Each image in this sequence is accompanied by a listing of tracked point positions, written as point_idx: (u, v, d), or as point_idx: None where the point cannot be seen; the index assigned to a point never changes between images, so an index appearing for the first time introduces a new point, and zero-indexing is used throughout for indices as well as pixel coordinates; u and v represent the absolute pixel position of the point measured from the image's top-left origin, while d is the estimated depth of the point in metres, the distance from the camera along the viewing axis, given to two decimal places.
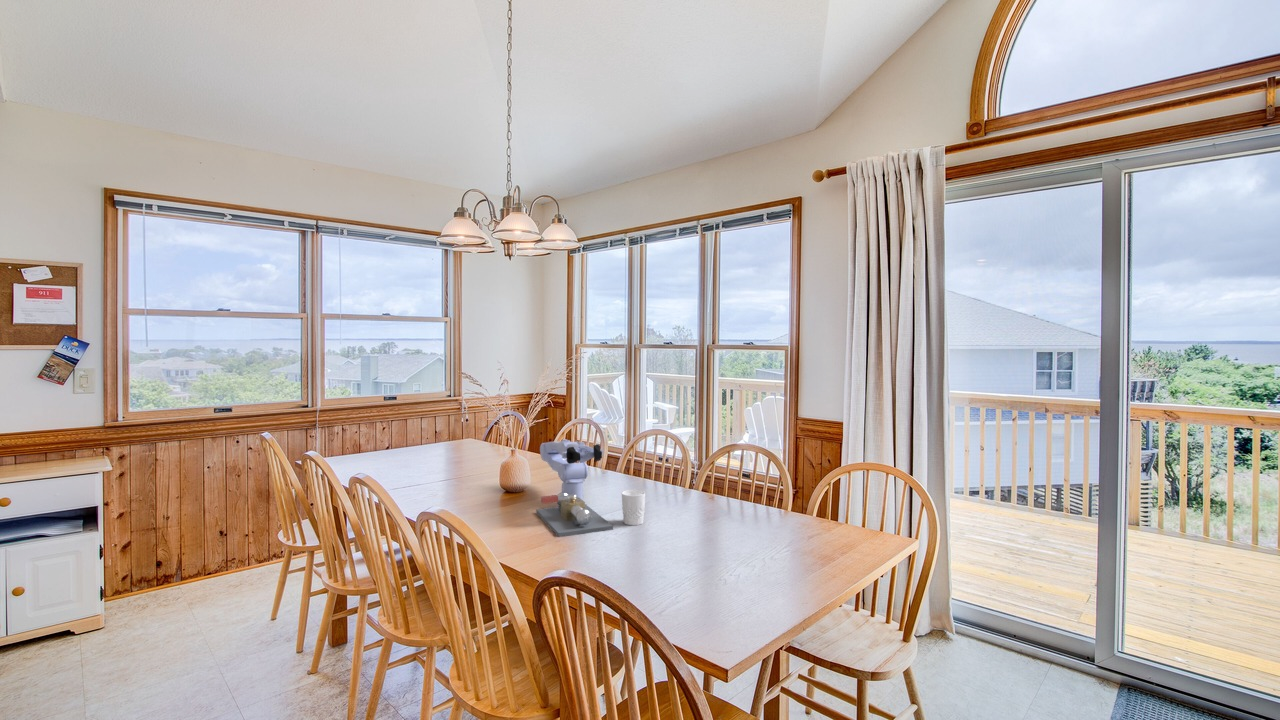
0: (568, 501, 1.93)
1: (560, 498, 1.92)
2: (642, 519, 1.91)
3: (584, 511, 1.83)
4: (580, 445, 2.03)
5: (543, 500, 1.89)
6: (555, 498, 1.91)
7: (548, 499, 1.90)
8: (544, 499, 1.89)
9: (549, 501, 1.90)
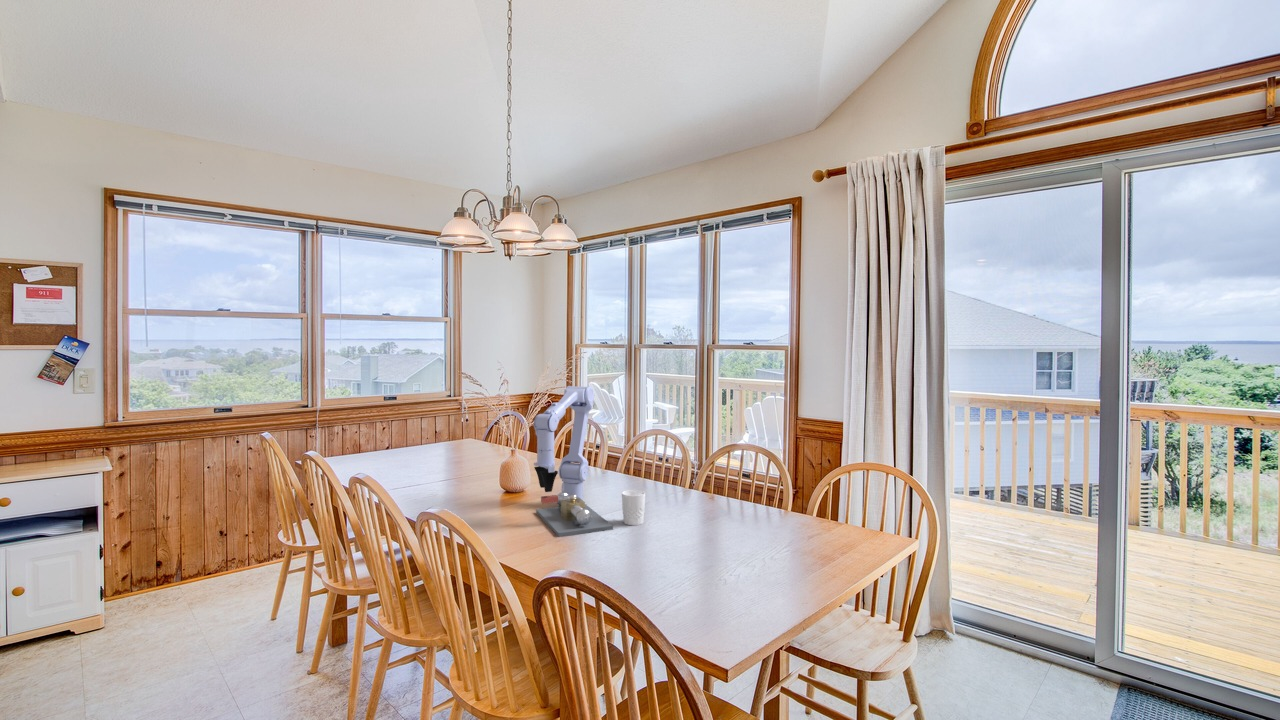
0: (568, 501, 1.93)
1: (560, 498, 1.92)
2: (642, 519, 1.91)
3: (584, 511, 1.83)
4: None
5: (543, 500, 1.89)
6: (555, 498, 1.91)
7: (548, 499, 1.90)
8: (544, 499, 1.89)
9: (549, 501, 1.90)
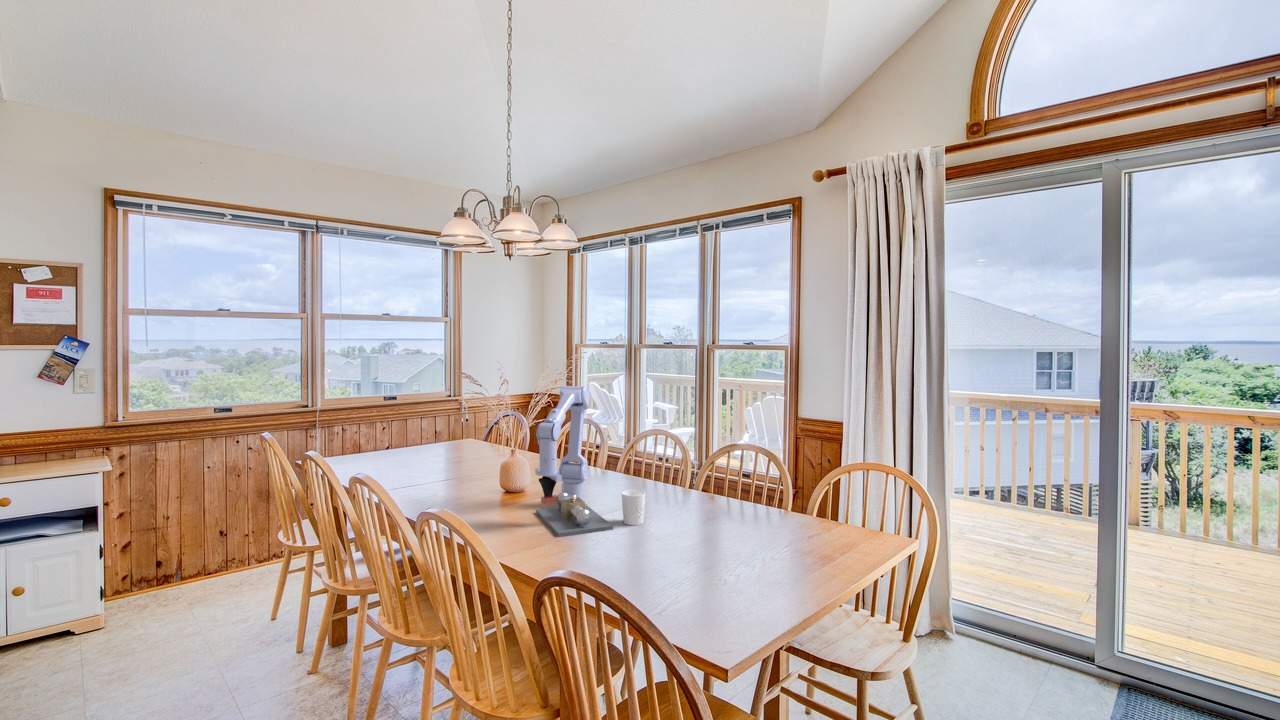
0: (568, 501, 1.93)
1: (560, 498, 1.92)
2: (642, 519, 1.91)
3: (584, 511, 1.83)
4: None
5: (543, 500, 1.89)
6: (555, 498, 1.91)
7: (548, 499, 1.90)
8: (544, 499, 1.89)
9: (549, 501, 1.90)
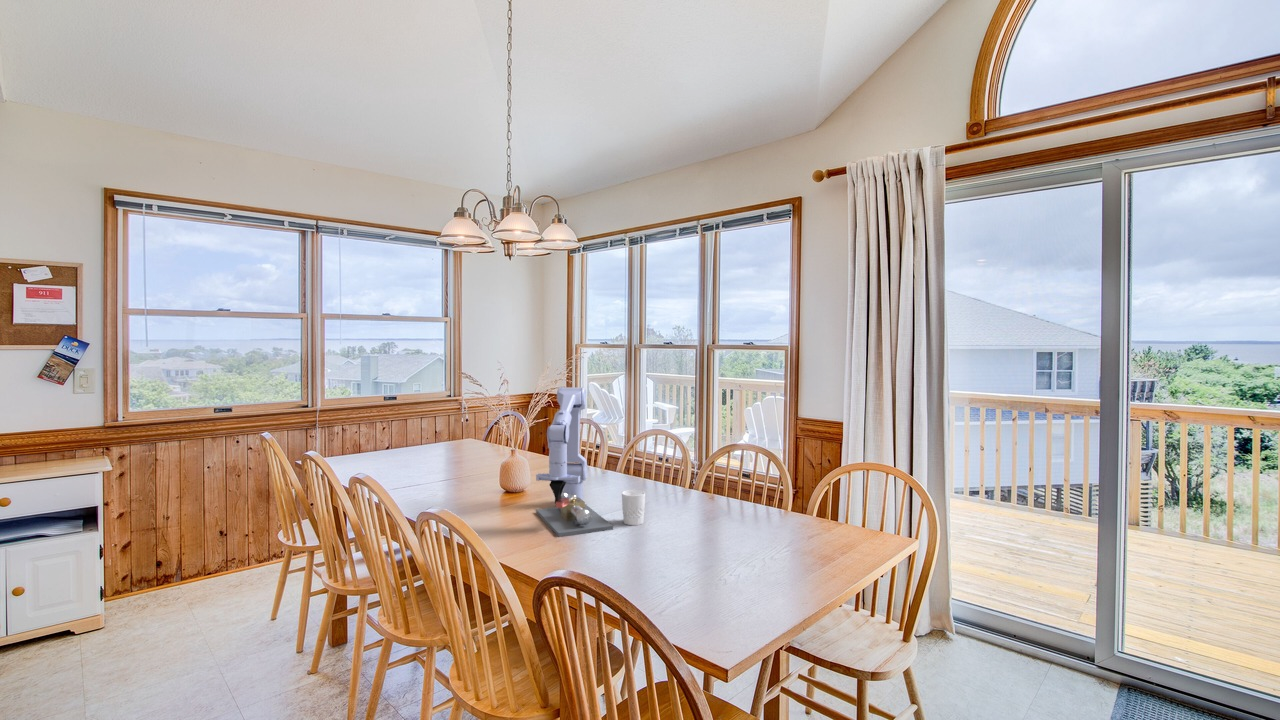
0: None
1: (569, 500, 1.90)
2: (642, 519, 1.91)
3: (584, 511, 1.83)
4: (552, 479, 1.84)
5: (562, 504, 1.84)
6: (567, 500, 1.88)
7: (564, 502, 1.86)
8: (562, 503, 1.84)
9: (565, 504, 1.86)
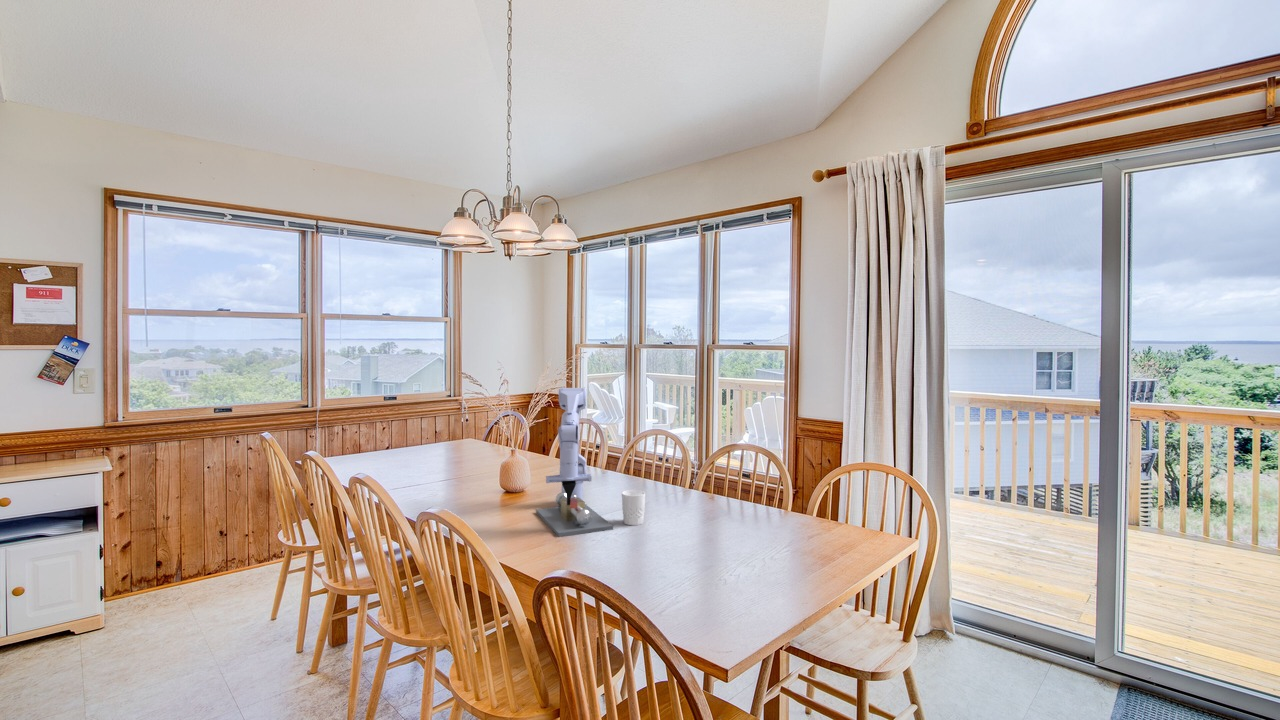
0: None
1: None
2: (642, 519, 1.91)
3: (584, 511, 1.83)
4: None
5: None
6: (576, 500, 1.88)
7: None
8: None
9: None
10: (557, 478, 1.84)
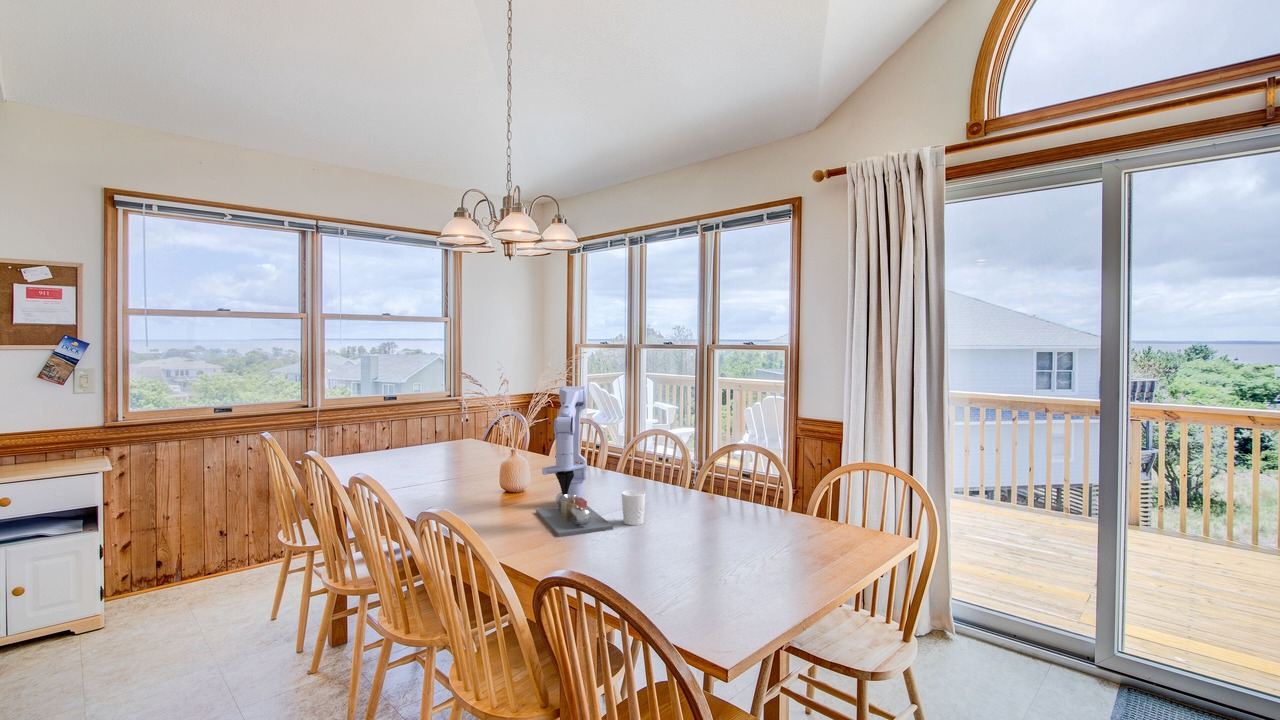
0: (568, 501, 1.93)
1: None
2: (642, 519, 1.91)
3: (584, 511, 1.83)
4: (565, 470, 1.87)
5: None
6: None
7: None
8: None
9: None
10: (555, 469, 1.86)
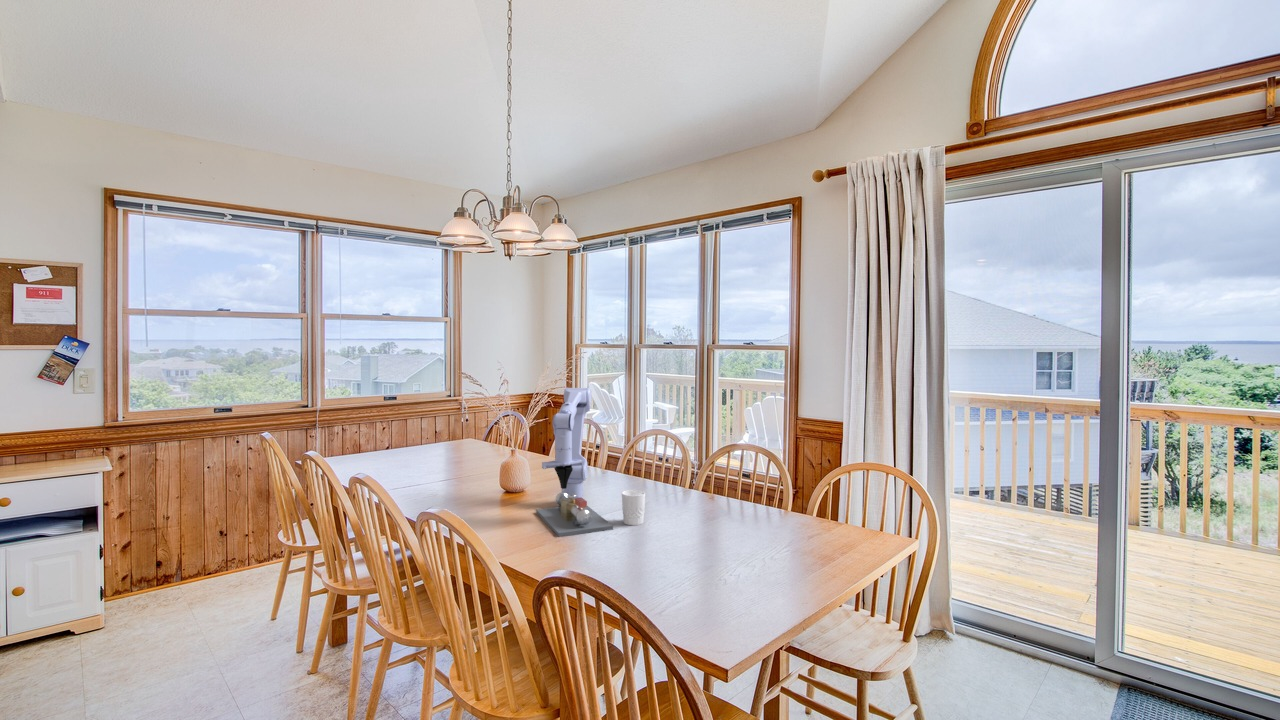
0: (568, 501, 1.93)
1: None
2: (642, 519, 1.91)
3: (584, 511, 1.83)
4: (564, 465, 1.94)
5: None
6: None
7: None
8: None
9: None
10: (554, 464, 1.94)
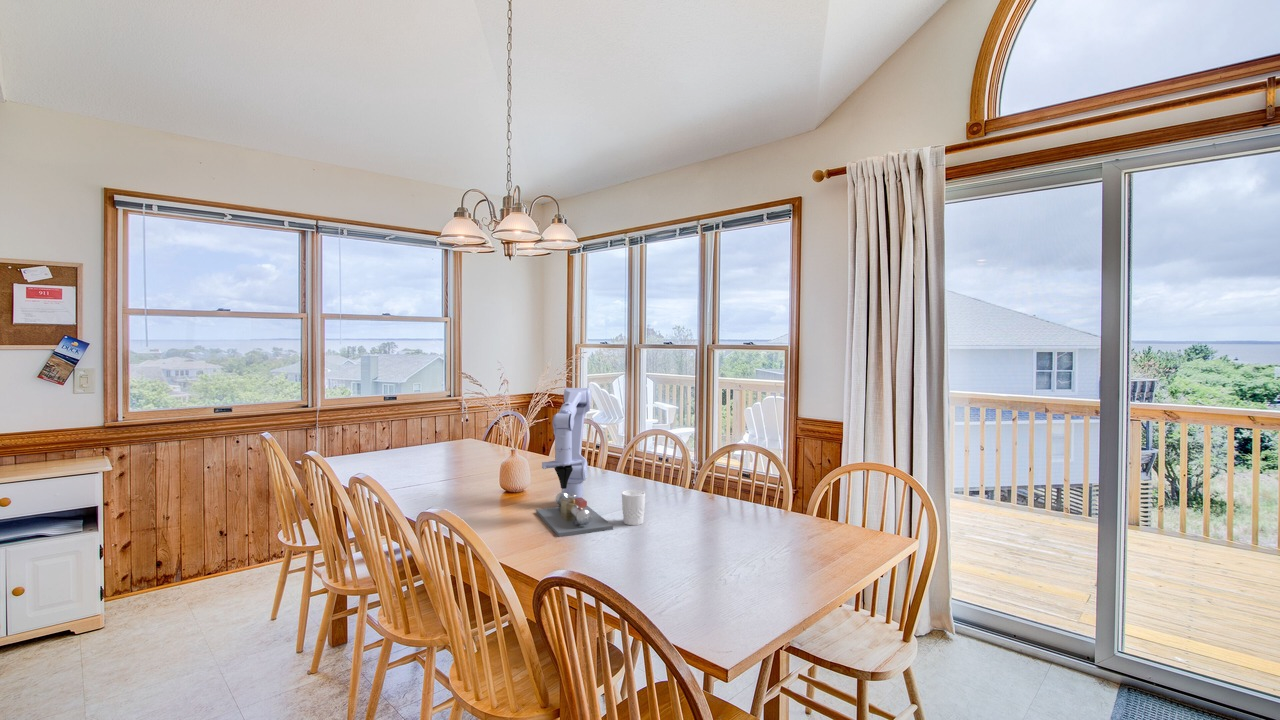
0: (568, 501, 1.93)
1: None
2: (642, 519, 1.91)
3: (584, 511, 1.83)
4: (564, 465, 1.94)
5: None
6: None
7: None
8: None
9: None
10: (554, 464, 1.94)
